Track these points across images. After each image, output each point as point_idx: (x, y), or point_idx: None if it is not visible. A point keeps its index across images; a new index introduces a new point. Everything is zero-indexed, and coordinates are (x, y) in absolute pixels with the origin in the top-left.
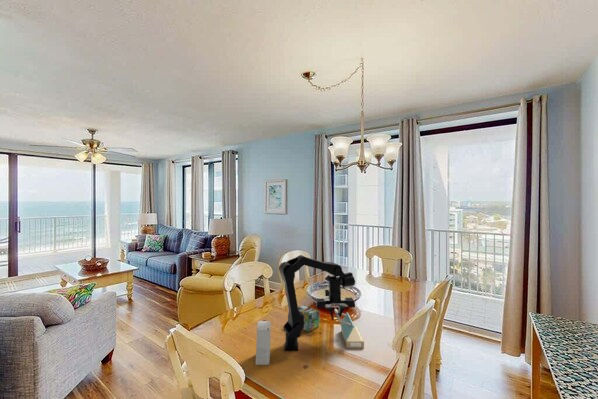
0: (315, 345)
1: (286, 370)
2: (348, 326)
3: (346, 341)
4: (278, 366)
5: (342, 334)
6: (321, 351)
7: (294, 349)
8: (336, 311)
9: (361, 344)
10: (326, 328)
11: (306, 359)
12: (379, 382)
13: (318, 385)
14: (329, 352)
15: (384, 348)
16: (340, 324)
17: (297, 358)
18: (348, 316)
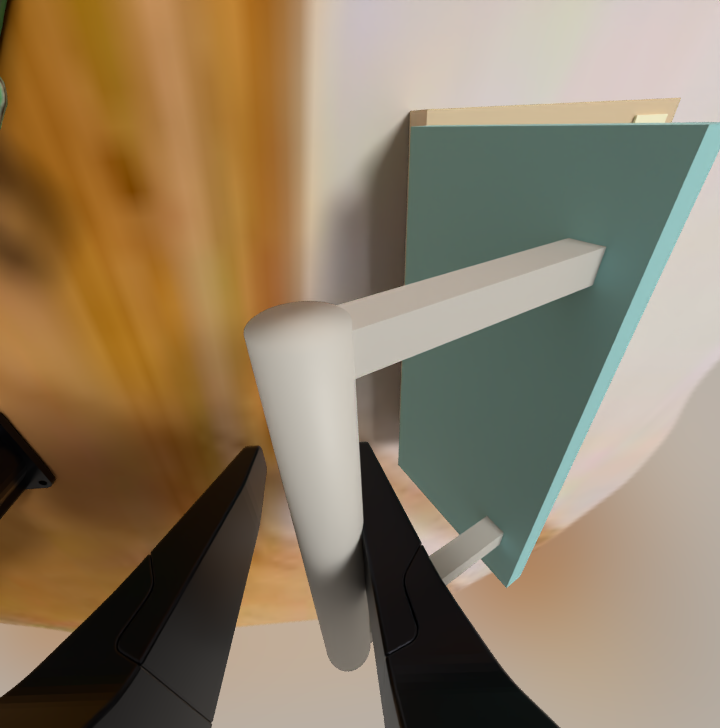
0: (155, 415)
1: (86, 581)
2: (471, 474)
3: None
4: (31, 570)
5: (406, 216)
6: (218, 467)
7: (24, 488)
8: (319, 529)
9: None
10: (183, 8)
11: (148, 526)
12: (468, 582)
13: (245, 609)
14: (272, 470)
15: (666, 402)
16: (412, 141)
17: (93, 525)
18: (591, 379)
